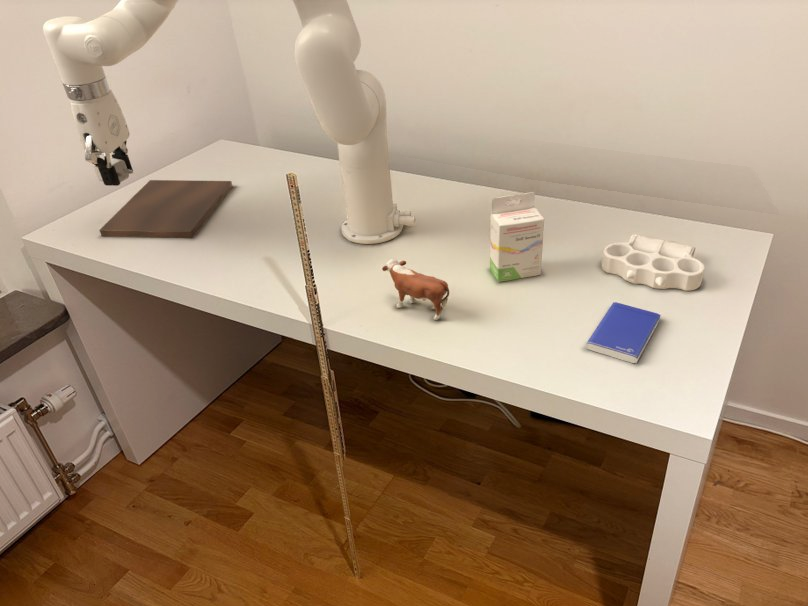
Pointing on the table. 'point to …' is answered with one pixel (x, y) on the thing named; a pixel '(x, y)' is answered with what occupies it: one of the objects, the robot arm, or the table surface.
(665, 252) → the white brass knuckles
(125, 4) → the robot arm
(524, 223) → the ink box
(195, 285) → the table surface
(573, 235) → the table surface
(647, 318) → the hard drive
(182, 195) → the walnut board
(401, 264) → the bull figurine
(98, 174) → the usb wall charger
